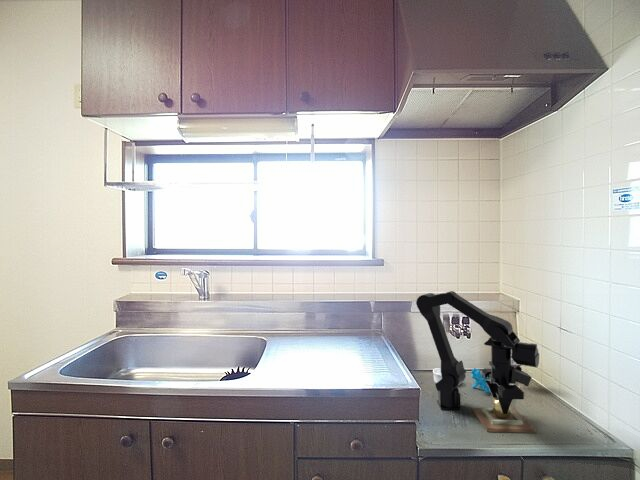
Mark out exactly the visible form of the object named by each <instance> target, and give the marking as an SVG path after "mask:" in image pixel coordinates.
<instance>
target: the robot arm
mask: <svg viewBox="0 0 640 480" xmlns="http://www.w3.org/2000/svg"><path fill="white" fill-rule="evenodd" d="M415 303H416V307H417V309H418V311H419V313H420V315H421V316H422V317H423V318H424V319H425V320H426V322H427V324H428V327H429V330H430V333H431V335H432V336H431V337H432V340H433V341H434V345H435V348H436V350H437V351H436V352H437V353H438V354H437V355H438V356H439V359H440V368H441V375H442V379H441V380H440V381H439V382H437V383H435V388H436V391H437V393H438V394H437V395H438V396H437V397H438V398H437V400H436V402H437V405H438V406H439V408H440V410H443V411H445V410H447V411H450V410H454V411H461V393H460V391H459V390H460V389H459V388H458V387H459V386H460V385H461V384H462V383H463V382H464V381H465V380H466V377H467V375H466V373H467V370H466V369H465V367H464V363H463V361H462V360H459V361H458V359H457V358H456V357H455V356H454V353H453V350H452V347H451V343H450V342H449V338H448V335H447V333H446V330H445V327H444V324H443V321H442V319H441V306H443V305H449V306H450V307H452V308H453V309H455V310H457V311H458V312H460V313H461V314H463V315H464V316H466V317H467V318H469V319H470V320H471V321H474V322H475V323H476V324H478V325H479V326H480V327H481V328H482V330H483V331H484V332H485V333H486V334H487V335H488V336H489V338H488V339H487V340H486V341H485V342H484V343H483V345H485V346H489V347H490V348H491V349H490V350H491V351H490V353H491V354H490V355H491V358H490V359H491V361H490V360H489V361H488V365H489V366H491V367H490V368H487V367H486V368H483V370H481V373H482V377H483V378H484V379H487V377H488V381H485V382H486V384H487V386H488V388H489V390H490V392H491V393H490V394H491V397H492V399H493V398H494V397H497V398H498V401H499V404H500V406H501V409H502V412H503V414H507V412H508V410H509V407H510V408H511V405H512V404H511V403H513V402H512V401H513V400H525V391H523V390H522V389H521V387H520V386H519V385H517V384H516V383H519V384H522V385H524V386H525V387H529V386H530V383H531V380H532V378H533V377H532V376H531V375H530V374H528V372H525V371H524V370H523V369H522V366H525V367H526V366H527V367H532V368H538V367H539V364H540V353H539V349H538V344H537V343H532V342H531V343H529V342H528V343H527V342H521V340H520V338H519V337H518V335H517V334H516V333H515V331H514V329H513V324H511V322H510V321H508V320H506V319H504V318H501V317H499V316H497V315H494V314H493V315H492V314H489V313H487V312H486V311H484V310H483V309H481V308H479V307H478V306H477V305H475V304H473V303H472V302H470V301H468V300H467V299H466V298H464V297H463V296H461V295H459V294H457V292H455V291H454V290H450V291H447V292H444V293H438V294H435V293H434V292H432V293H431V292H428V293H426V294H425V293H424V294H421V295H419V296H418V297H417V299H416V301H415ZM511 353H512V359H513V361H514V362H516V364H520V365H522V366H521V367H520V366H518V365H514V366H512V365H511ZM510 384H514V385H510ZM518 386H519V387H520V388H519V387H518Z"/></svg>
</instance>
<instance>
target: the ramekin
mask: <svg viewBox="0 0 640 480" xmlns="http://www.w3.org/2000/svg"><path fill="white" fill-rule="evenodd" d="M432 373H433V382H434V383H435V384H436V383H437V382H439V381H440V380H441V379H442V375H441V367H438V368H437V367H436V368H433V370H432Z"/></svg>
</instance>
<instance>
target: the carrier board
mask: <svg viewBox="0 0 640 480" xmlns="http://www.w3.org/2000/svg"><path fill="white" fill-rule="evenodd" d="M471 411H472V412H473V414H474V415H475V417H476V418H477V420H478V421H479V423H480V424H481V425H482V427H483V428H484V429H485V431H486V432H490V433H491V432H493V433H494V432H495V433H527V434H528V433H532V434H534V433H535V434H536V428H535V427H534V426H533V425H532V424H531V423H530V422H529V421H528V420H527V419H526V418H525V417H524V416H523V415H522V414H521V413H520V412H519V411H518V409H516V408H515V407H510V417H499V416H496V415H495V414H494V413H493V407H476V406H475V407H472V408H471Z"/></svg>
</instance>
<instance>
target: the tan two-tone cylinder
mask: <svg viewBox="0 0 640 480" xmlns="http://www.w3.org/2000/svg"><path fill="white" fill-rule="evenodd" d="M492 408H493V413H494V414H495V415H496V416H499V417H510V408H511V406H510V407H509V410H508V412H507V414H503V412H502V409H501V406H500V404H499V401H498V398H497V397H494V398H493V397H492Z"/></svg>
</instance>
